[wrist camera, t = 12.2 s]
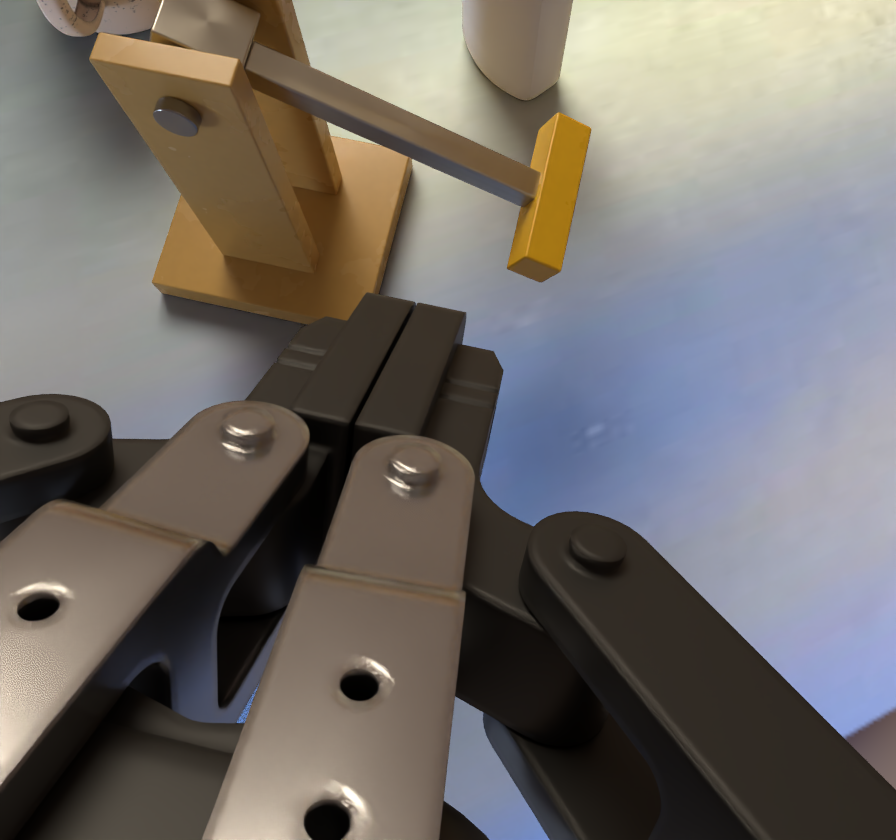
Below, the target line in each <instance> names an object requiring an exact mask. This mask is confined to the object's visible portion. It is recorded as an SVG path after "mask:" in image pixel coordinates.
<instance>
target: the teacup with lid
mask: <svg viewBox="0 0 896 840" xmlns="http://www.w3.org/2000/svg"><path fill="white" fill-rule="evenodd" d="M36 1H37V3H38V5H39V7H40V9H41V11H42V12H43V14H44V15H45V17H46V18H47V20H48V21H49V22H50V23H51V24H52V25H53V26H54V27H55V28H56V29H57V30H59V31H60V32H62V33H64V34H66V35H69V36H89V35H91V34H93V33H94V32H97V33H100V32H102V33H108V34H113V35H122V34H132V33H137V32H141V31H145V30H148V29H151V27H152V25H153V22H154V19H155V16H156V14H157V11H158V8H159V5H160V3H159V1H158V0H36Z"/></svg>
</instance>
